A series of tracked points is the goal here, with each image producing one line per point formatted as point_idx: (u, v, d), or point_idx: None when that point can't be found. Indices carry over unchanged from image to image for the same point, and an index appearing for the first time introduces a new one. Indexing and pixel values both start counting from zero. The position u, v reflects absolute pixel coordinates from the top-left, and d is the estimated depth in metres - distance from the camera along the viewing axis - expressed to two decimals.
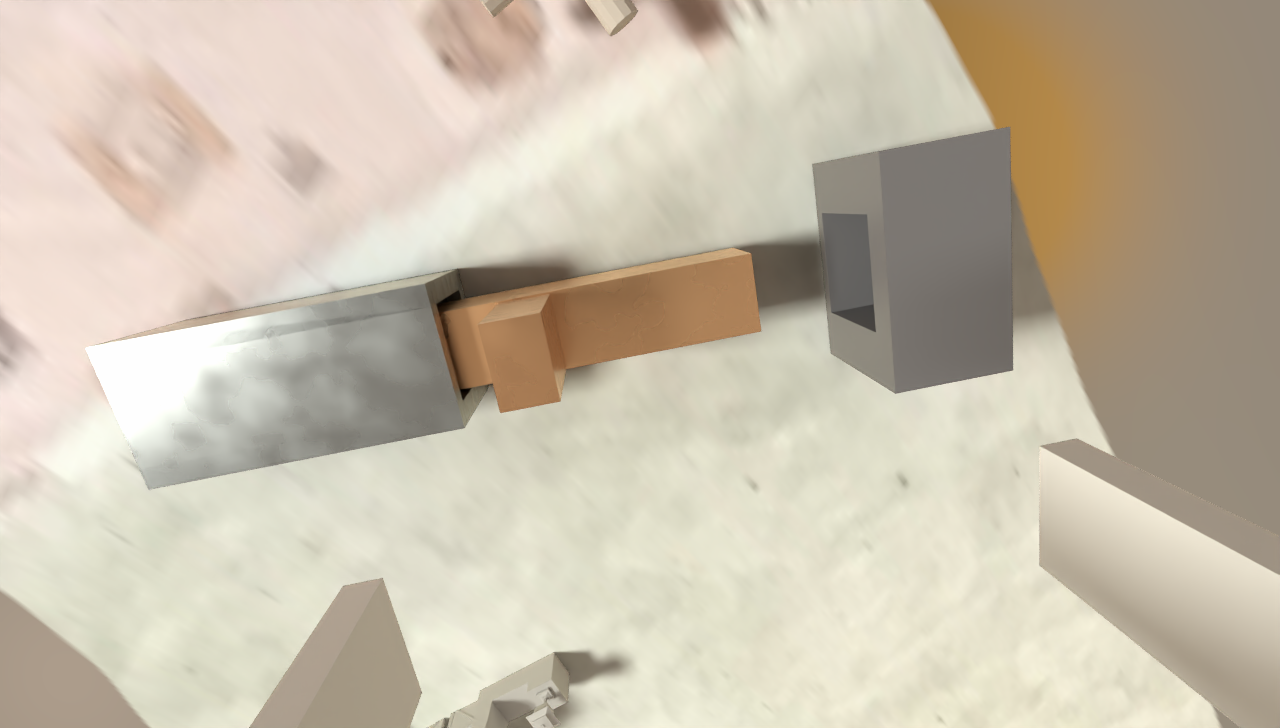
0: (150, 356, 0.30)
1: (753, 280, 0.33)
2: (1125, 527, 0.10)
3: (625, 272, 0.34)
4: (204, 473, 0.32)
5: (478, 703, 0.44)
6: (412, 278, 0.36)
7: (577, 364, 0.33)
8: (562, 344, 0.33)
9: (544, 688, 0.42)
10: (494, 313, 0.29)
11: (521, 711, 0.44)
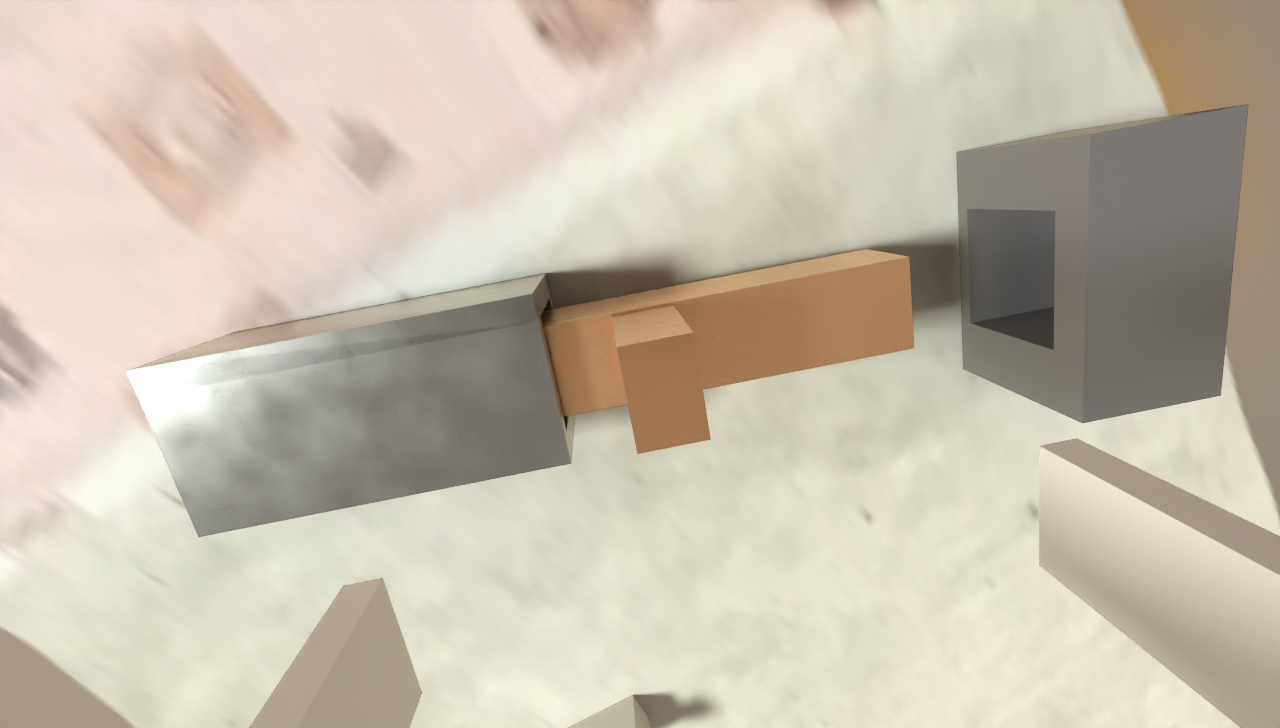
0: (203, 381, 0.25)
1: (909, 288, 0.28)
2: (1126, 527, 0.10)
3: (751, 278, 0.29)
4: (264, 517, 0.27)
5: None
6: (497, 284, 0.31)
7: None
8: None
9: None
10: (622, 330, 0.24)
11: None
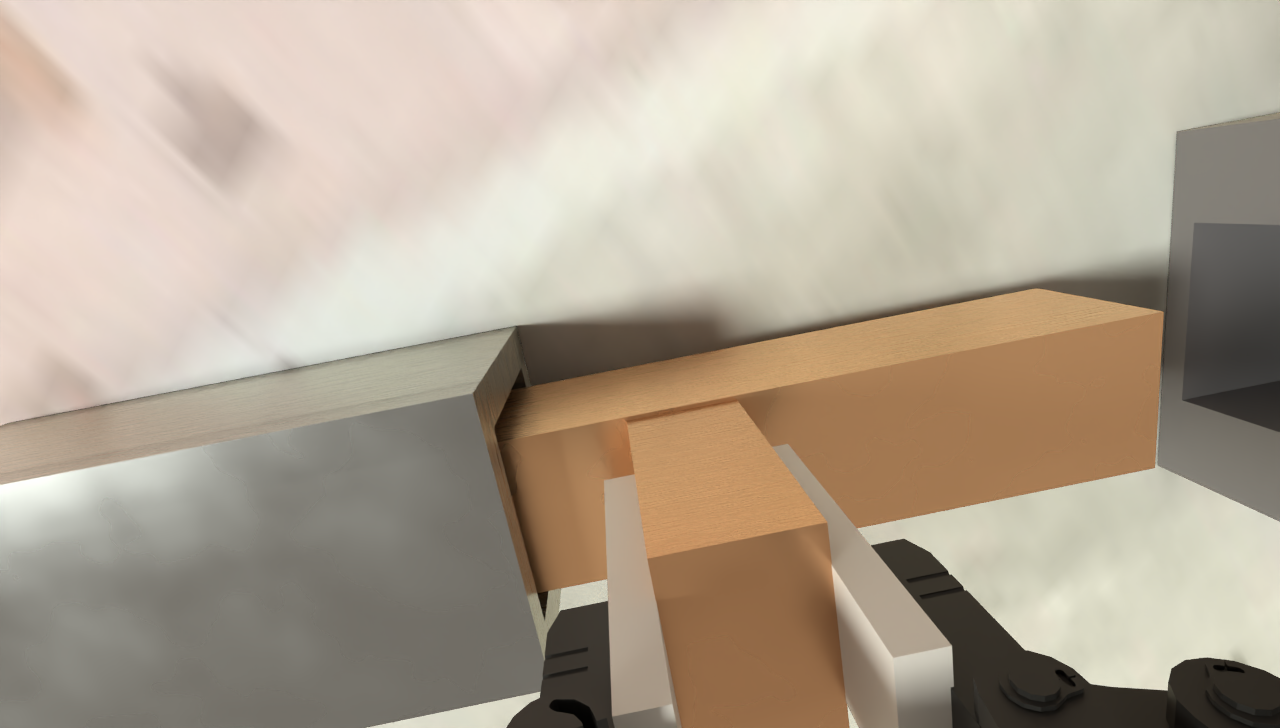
0: None
1: (1157, 367, 0.15)
2: None
3: (864, 343, 0.17)
4: None
5: None
6: (434, 348, 0.19)
7: None
8: None
9: None
10: (653, 480, 0.11)
11: None
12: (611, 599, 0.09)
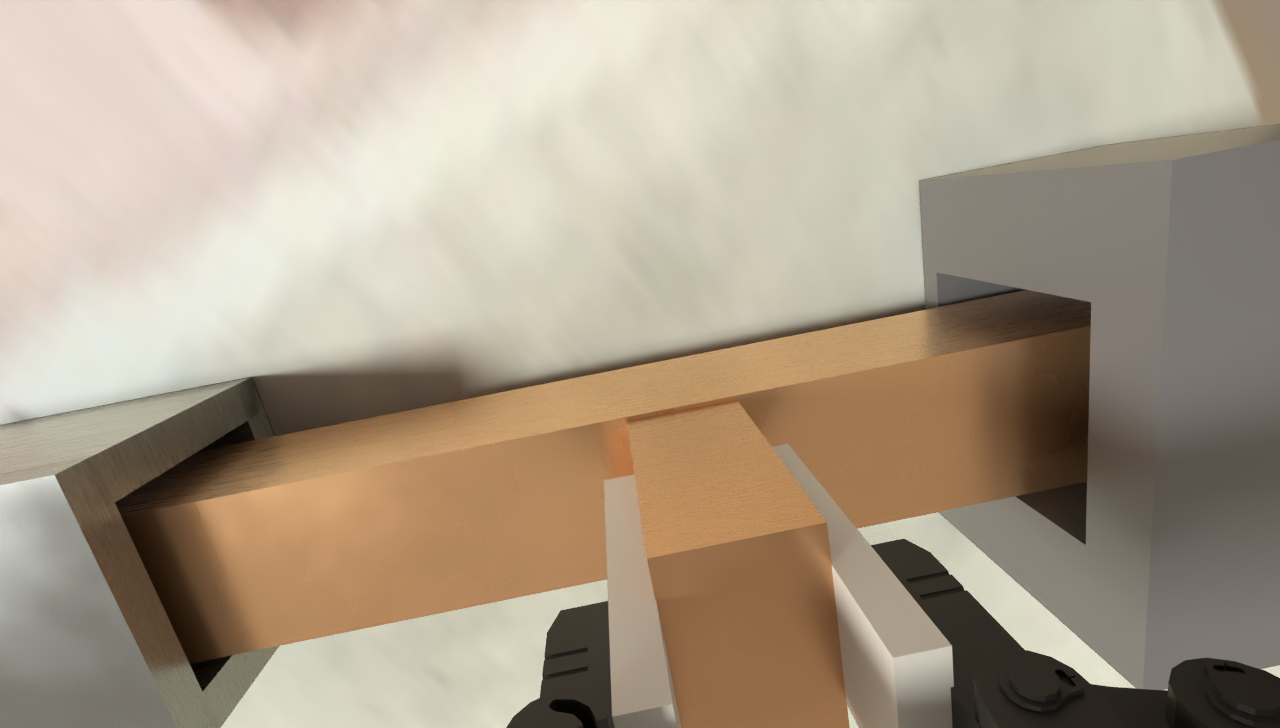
0: None
1: None
2: None
3: (864, 343, 0.17)
4: None
5: None
6: (150, 403, 0.19)
7: None
8: None
9: None
10: (653, 480, 0.11)
11: None
12: (611, 599, 0.09)
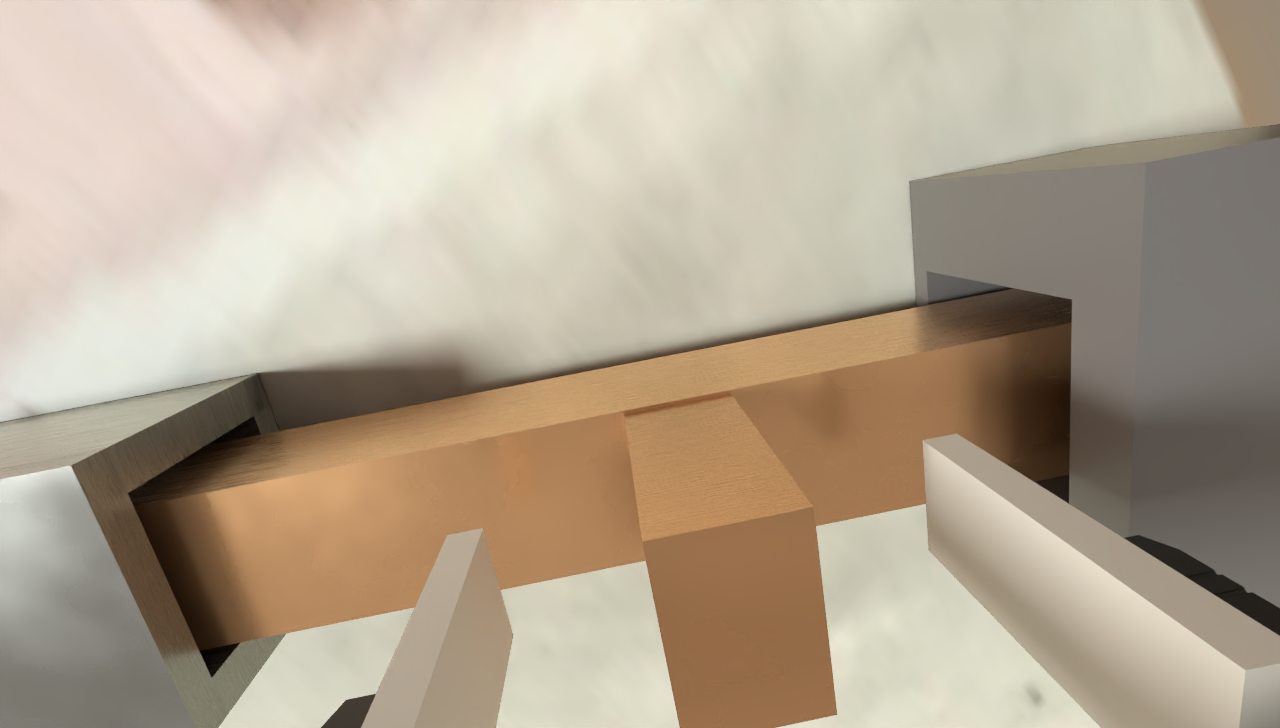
0: None
1: None
2: (981, 512, 0.11)
3: (855, 340, 0.17)
4: None
5: None
6: (159, 398, 0.19)
7: None
8: None
9: None
10: (649, 470, 0.12)
11: None
12: (377, 698, 0.08)
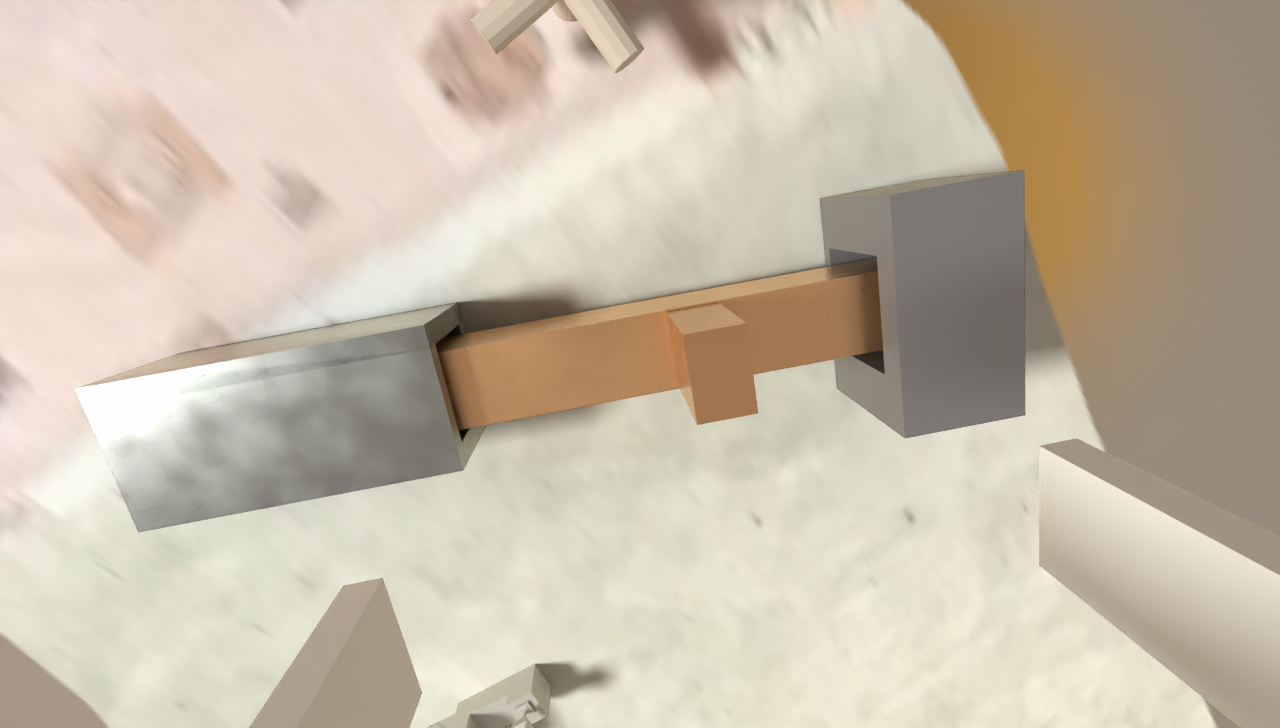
0: (141, 397, 0.29)
1: None
2: (1126, 526, 0.10)
3: (784, 281, 0.34)
4: (196, 515, 0.31)
5: (455, 716, 0.43)
6: (411, 313, 0.35)
7: None
8: None
9: (524, 701, 0.41)
10: (682, 323, 0.28)
11: (500, 725, 0.42)
12: None
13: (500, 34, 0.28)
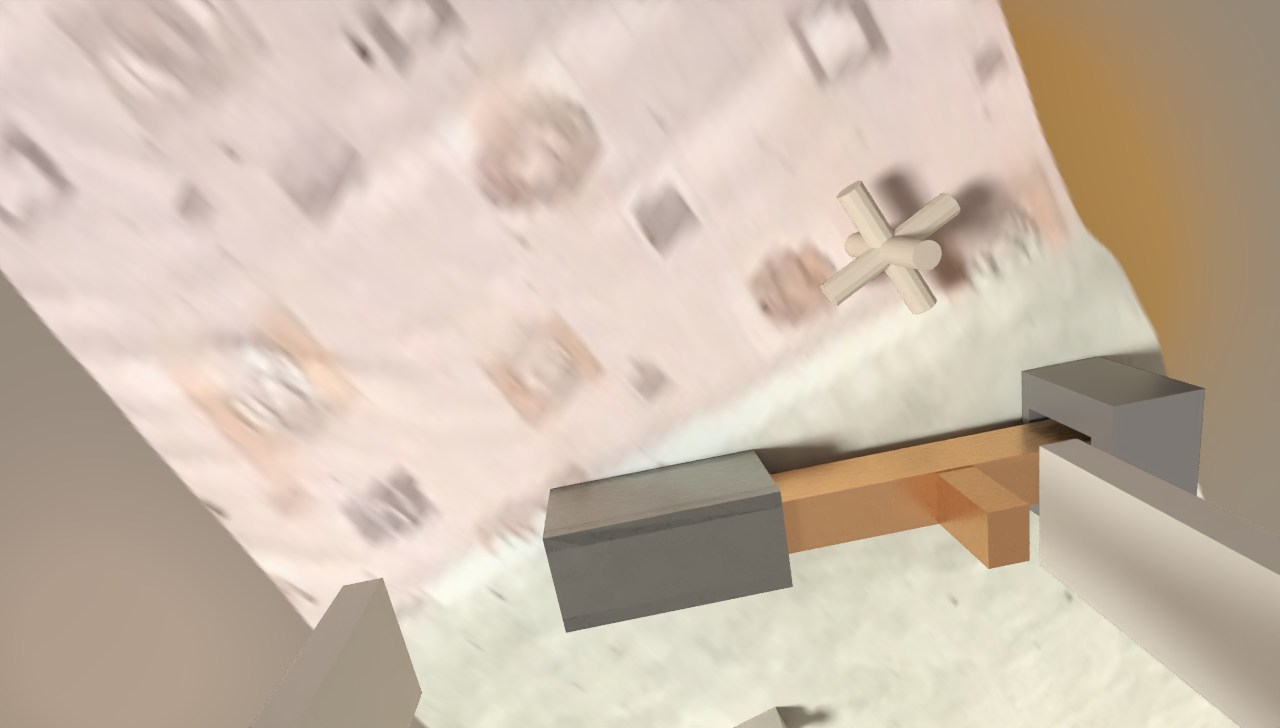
0: (585, 543, 0.42)
1: None
2: (1126, 527, 0.10)
3: (1008, 442, 0.46)
4: (606, 620, 0.44)
5: None
6: (727, 461, 0.48)
7: None
8: None
9: None
10: (968, 493, 0.41)
11: None
12: None
13: (845, 297, 0.40)
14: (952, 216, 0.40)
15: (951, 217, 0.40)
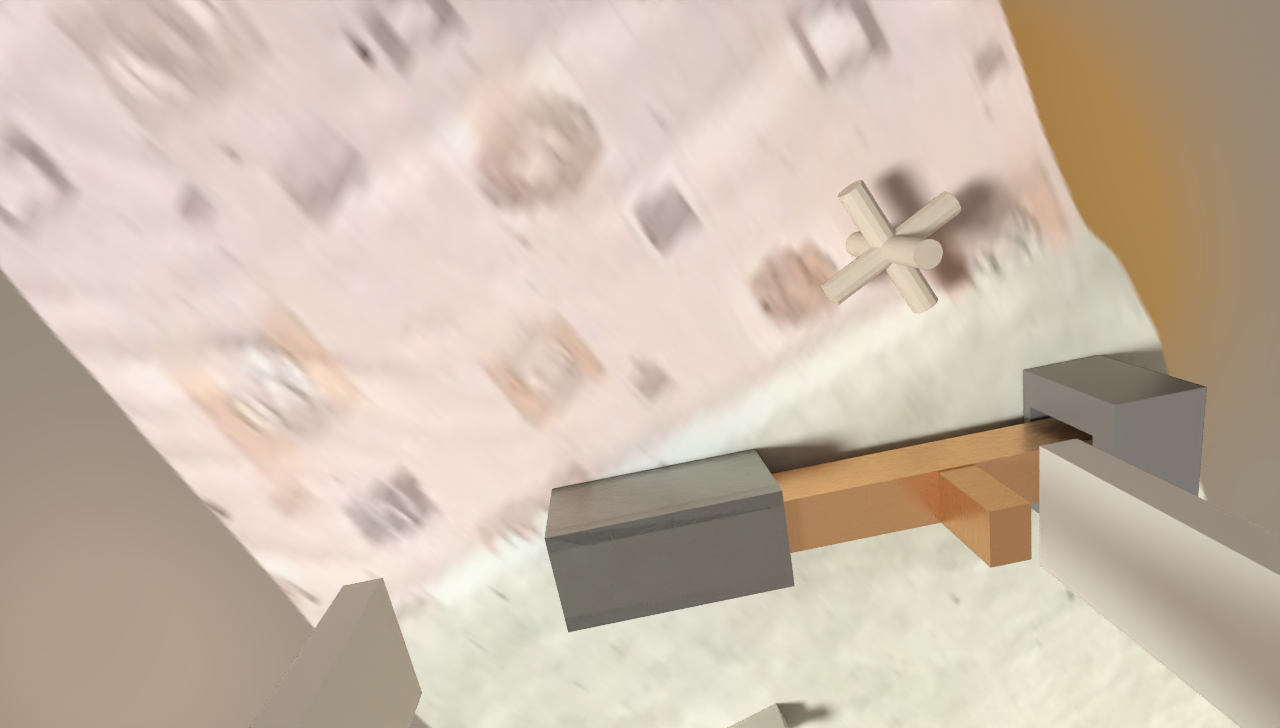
0: (587, 543, 0.42)
1: None
2: (1126, 527, 0.10)
3: (1009, 440, 0.46)
4: (608, 620, 0.44)
5: None
6: (728, 461, 0.48)
7: None
8: None
9: None
10: (970, 492, 0.41)
11: None
12: None
13: (846, 296, 0.40)
14: (953, 215, 0.40)
15: (952, 216, 0.40)
